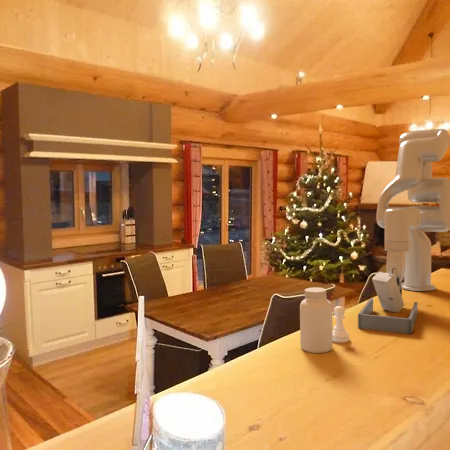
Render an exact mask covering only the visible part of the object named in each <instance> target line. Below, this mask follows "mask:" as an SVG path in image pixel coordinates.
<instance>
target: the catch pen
mask: <svg viewBox="0 0 450 450" xmlns="http://www.w3.org/2000/svg"><path fill="white" fill-rule="evenodd" d="M412 305H413V306H412V308H411V311H410V313H409V316H408V318H407V317H396V316H395V317H394V316H388V315H387V316H386V315H376V314H375V315H374V314H372V313H373V312H374V298H372V297H370V298H369V299H368V301H367V302H366V304H365V305H364V306H363V307H362V309H361V310H360V311H359V312H358V314H357V328H358V329H361V330H363V329H364V330H372V331H380V332H390V333H396V334H397V333H398V334H405V335H406V334H407V335H412V333H413V330H414V327H415V324H416V320H417V318H418V306H419V305H418V301H414V303H413V304H412ZM372 311H373V312H372ZM370 314H371V315H370Z"/></svg>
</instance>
